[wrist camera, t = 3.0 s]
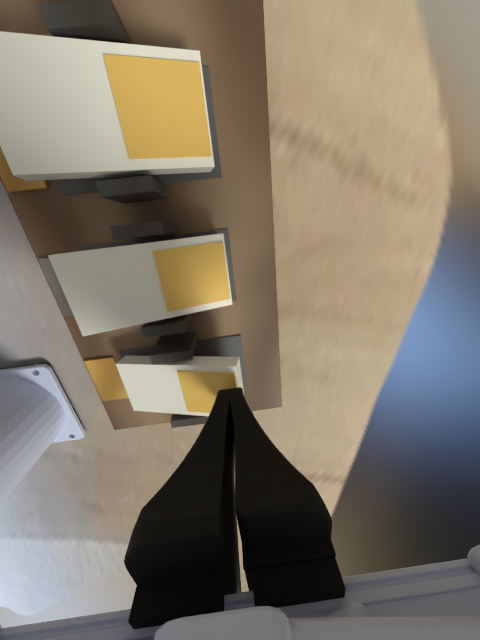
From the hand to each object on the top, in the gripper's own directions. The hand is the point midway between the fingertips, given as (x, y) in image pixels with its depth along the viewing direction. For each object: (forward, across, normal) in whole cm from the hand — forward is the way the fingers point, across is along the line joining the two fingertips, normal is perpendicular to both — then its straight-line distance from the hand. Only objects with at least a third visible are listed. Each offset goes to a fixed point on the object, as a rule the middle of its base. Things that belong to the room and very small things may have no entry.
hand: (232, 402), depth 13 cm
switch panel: (+6, +3, -7) cm, 10 cm away
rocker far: (+2, +3, 0) cm, 4 cm away
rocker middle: (+2, +3, -7) cm, 8 cm away
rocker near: (+2, +3, -14) cm, 15 cm away
